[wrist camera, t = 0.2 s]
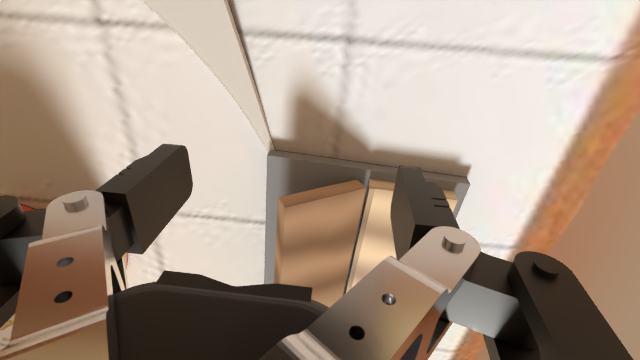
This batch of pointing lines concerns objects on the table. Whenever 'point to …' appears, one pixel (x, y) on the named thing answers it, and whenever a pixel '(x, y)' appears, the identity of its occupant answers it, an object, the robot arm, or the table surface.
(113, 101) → the table surface
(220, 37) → the corner molding
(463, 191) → the board
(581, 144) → the table surface
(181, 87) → the table surface
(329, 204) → the walnut plank
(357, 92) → the table surface
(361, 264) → the oak plank
